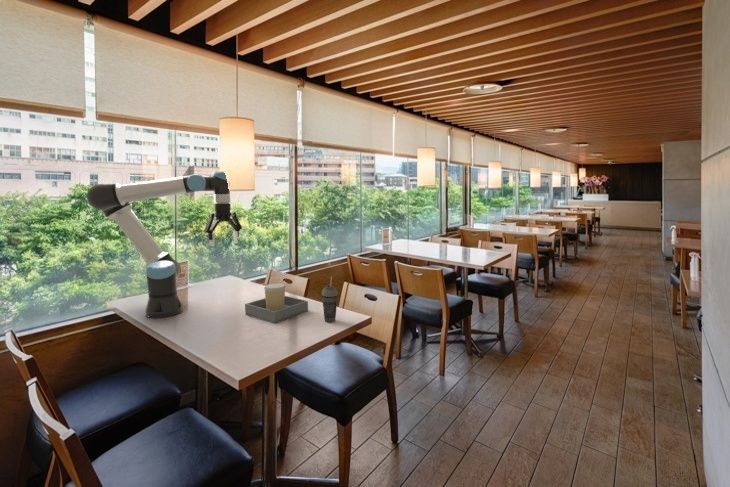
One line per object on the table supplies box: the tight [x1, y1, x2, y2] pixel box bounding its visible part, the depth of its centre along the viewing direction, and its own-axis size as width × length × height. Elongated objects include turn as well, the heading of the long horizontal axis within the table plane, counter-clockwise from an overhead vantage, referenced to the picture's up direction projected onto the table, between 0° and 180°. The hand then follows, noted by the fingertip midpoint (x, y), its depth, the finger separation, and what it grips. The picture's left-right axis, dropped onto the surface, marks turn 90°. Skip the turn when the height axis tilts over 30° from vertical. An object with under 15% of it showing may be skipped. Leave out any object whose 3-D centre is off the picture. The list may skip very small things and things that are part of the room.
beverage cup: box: [320, 275, 339, 324], centre depth 162 cm, size 7×7×20 cm
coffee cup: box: [263, 282, 286, 311], centre depth 173 cm, size 9×9×12 cm
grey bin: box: [244, 295, 309, 324], centre depth 173 cm, size 20×20×5 cm
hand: (224, 244), depth 191 cm, fingers open, 13 cm apart
